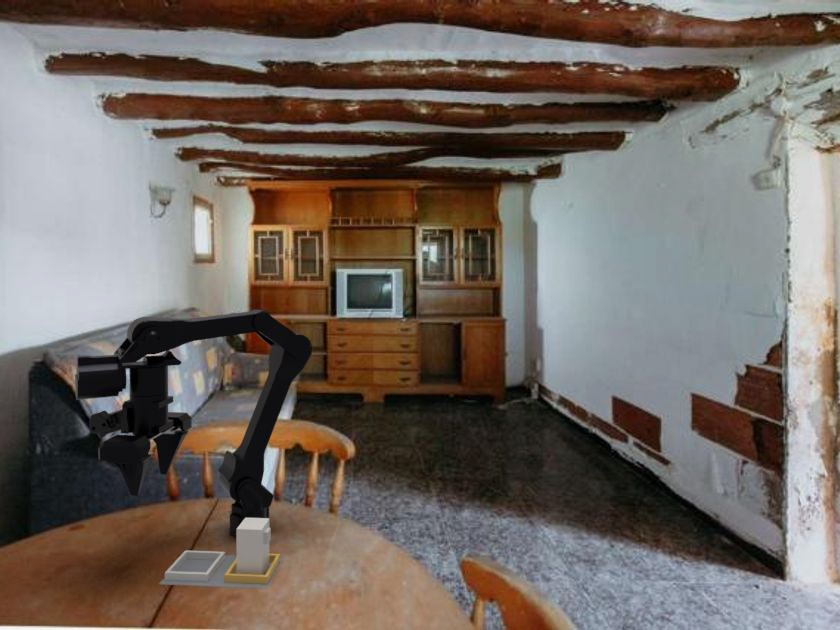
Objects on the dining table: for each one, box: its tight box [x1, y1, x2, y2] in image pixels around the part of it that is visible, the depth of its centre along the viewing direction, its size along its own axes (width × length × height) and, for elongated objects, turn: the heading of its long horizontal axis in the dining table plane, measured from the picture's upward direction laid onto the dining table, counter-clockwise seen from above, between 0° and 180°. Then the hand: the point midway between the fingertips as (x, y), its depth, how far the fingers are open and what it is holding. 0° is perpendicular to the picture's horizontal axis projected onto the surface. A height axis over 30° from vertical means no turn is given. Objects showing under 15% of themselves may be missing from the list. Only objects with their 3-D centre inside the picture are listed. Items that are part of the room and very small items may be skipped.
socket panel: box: [158, 550, 285, 590], centre depth 86 cm, size 17×9×2 cm, turn 88°
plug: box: [235, 517, 272, 575], centre depth 85 cm, size 5×4×8 cm
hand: (150, 484), depth 89 cm, fingers open, 9 cm apart
